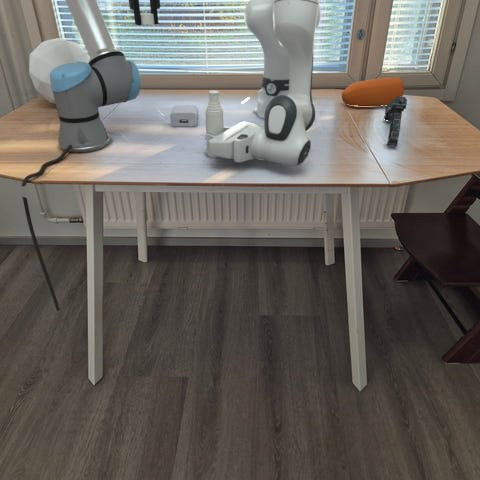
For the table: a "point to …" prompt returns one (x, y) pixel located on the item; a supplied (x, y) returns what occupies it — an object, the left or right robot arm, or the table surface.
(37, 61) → the decorative sphere
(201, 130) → the table surface
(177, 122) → the charger
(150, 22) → the cap
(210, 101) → the bottle
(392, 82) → the clog
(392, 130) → the futuristic handgun
